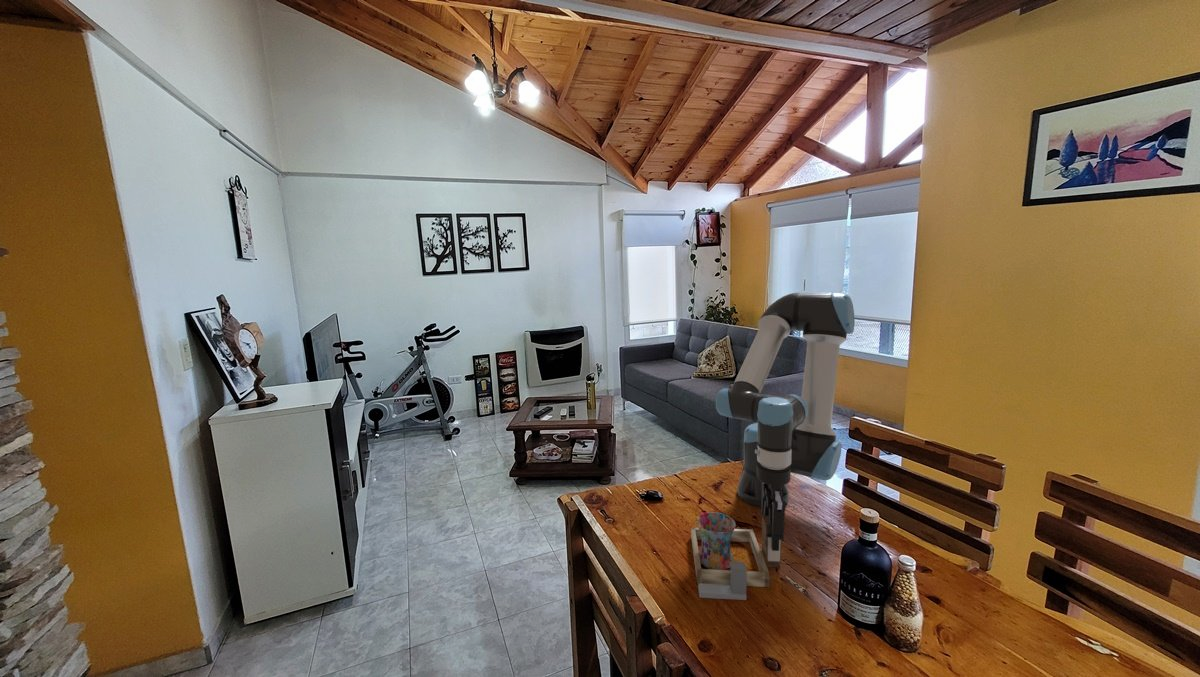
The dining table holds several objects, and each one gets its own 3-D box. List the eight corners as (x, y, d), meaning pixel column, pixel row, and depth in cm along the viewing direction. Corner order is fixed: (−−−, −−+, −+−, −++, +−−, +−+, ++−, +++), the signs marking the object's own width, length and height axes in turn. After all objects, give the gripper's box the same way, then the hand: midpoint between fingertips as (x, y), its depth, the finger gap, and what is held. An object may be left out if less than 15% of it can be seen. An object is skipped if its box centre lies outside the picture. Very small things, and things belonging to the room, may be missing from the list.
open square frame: (769, 540, 119) (769, 501, 117) (789, 588, 101) (790, 542, 99) (691, 537, 121) (690, 499, 119) (697, 583, 103) (697, 539, 102)
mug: (724, 579, 104) (725, 537, 103) (689, 563, 110) (689, 523, 109) (746, 554, 113) (746, 515, 112) (712, 540, 119) (712, 503, 118)
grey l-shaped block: (743, 590, 101) (744, 561, 100) (746, 600, 98) (746, 569, 97) (698, 588, 102) (698, 559, 101) (699, 597, 99) (699, 567, 98)
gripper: (750, 448, 115) (748, 533, 119) (765, 479, 98) (763, 576, 102) (780, 449, 114) (778, 534, 118) (801, 480, 97) (797, 578, 101)
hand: (771, 553), depth 110 cm, fingers closed on open square frame, 4 cm apart
